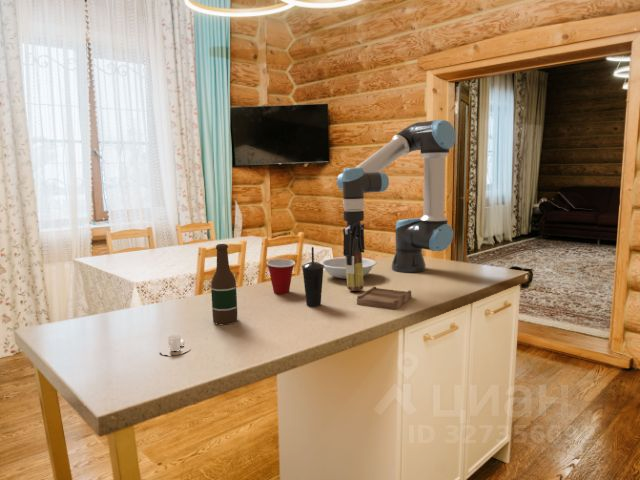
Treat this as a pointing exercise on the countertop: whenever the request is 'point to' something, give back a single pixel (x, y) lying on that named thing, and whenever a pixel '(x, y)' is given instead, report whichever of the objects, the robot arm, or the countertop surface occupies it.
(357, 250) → the sauce bottle
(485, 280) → the countertop surface
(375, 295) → the board
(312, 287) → the drinking cup
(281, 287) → the plastic cup
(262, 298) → the countertop surface
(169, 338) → the teacup and saucer
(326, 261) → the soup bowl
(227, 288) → the beer bottle
